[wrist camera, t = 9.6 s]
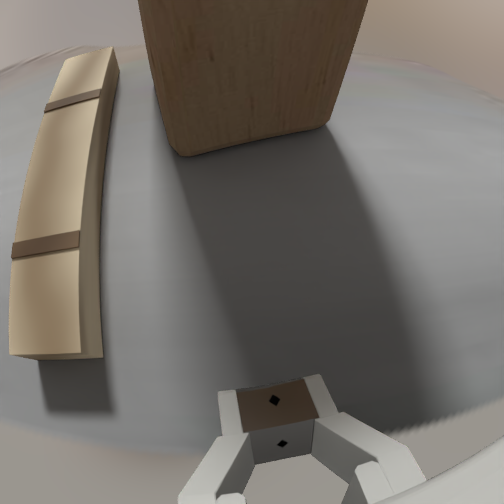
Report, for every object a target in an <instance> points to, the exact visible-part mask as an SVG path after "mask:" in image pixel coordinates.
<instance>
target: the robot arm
mask: <svg viewBox="0 0 504 504" xmlns="http://www.w3.org/2000/svg"><path fill="white" fill-rule="evenodd" d="M236 395H237V396H236ZM237 400H238V401H237ZM218 403H219V412H220V420H221V428H222V436H219V437H217V438H216V440H215V441H214V443H213V444H212V446H211V447H210V449H209V451H208V452H207V454H206V455H205V457H204V458H203V460H202V461H201V463H200V464H199V466H198V467H197V469H196V470H195V472H194V473H193V475H192V477H191V478H190V479H189V481H188V482H187V484H186V485H185V487H184V488H183V490H182V491H181V493H180V494H179V496H178V504H247V503H246V499H245V496H243V495H242V493H243V491H244V489H245V487H246V484H247V482H248V480H249V478H250V476H251V474H252V471H253V469H254V467H255V465H256V464H261V463H266V462H271V461H276V460H280V459H285V458H291V457H296V456H301V455H306V454H310V453H311V455H312V456H313V457H315V458H316V459H317V460H318V461H320V462H321V463H322V464H324V465H325V466H326V467H327V468H329V469H330V470H331V471H333V472H334V473H335V474H336V475H338V476H339V477H341V478H342V479H343V480H345V481H346V482H347V483H348V484H349V487H348V489H347V492H346V494H345V496H344V499H343V501H342V504H504V435H503V436H502V437H500V438H499V439H497V440H496V441H495V442H493V443H492V444H490V445H489V446H487V447H486V448H484V449H482V450H481V451H479V452H478V453H476V454H474V455H473V456H471V457H470V458H468V459H466V460H464V461H463V462H461V463H459V464H457V465H455V466H454V467H452V468H450V469H448V470H446V471H445V472H443V473H441V474H439V475H437V476H435V477H433V478H431V479H429V480H427V479H426V477H425V476H424V474H423V472H422V470H421V469H420V467H419V465H418V463H417V462H416V460H415V459H414V456H413V455H412V453H411V451H410V450H409V448H408V446H406V445H404V444H402V443H400V442H398V441H396V440H394V439H392V438H390V437H389V436H387V435H385V434H383V433H381V432H379V431H377V430H375V429H374V428H372V427H370V426H368V425H366V424H364V423H363V422H361V421H359V420H357V419H355V418H354V417H352V416H350V415H348V414H347V413H345V412H341V413H339V412H338V410H337V408H336V406H335V404H334V402H333V400H332V397H331V395H330V393H329V391H328V389H327V387H326V385H325V383H324V381H323V379H322V376H321V375H320V374H316V375H311V376H307V377H303V378H297V379H292V380H287V381H282V382H277V383H272V384H269V385H263V386H256V387H249V388H241V389H236V391H235V390H227V391H218ZM238 406H239V407H238Z"/></svg>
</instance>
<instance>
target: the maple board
mask: <svg viewBox="0 0 504 504" xmlns="http://www.w3.org/2000/svg"><path fill="white" fill-rule="evenodd" d="M119 71H120V70H119V67H118V63H117V59H116V56H115V52H114V48H113V47H108V48H104V49H100V50H97V51H93V52H89V53H86V54H82V55H79V56H75V57H72V58H69V59H66V60H65V62H64V64H63V67H62V69H61V71H60V74H59V76H58V79H57V81H56V83H55V86H54V89H53V91H52V94H51V96H50V99H49V102H48V103H47V104H46V107H45V110H44V116H43V119H42V122H41V125H40V128H39V132H38V135H37V138H36V142H35V145H34V149H33V152H32V156H31V160H30V164H29V167H28V172H27V176H26V180H25V185H24V189H23V194H22V199H21V204H20V209H19V215H18V221H17V227H16V234H15V241H14V243H13V246H12V255H11V258H12V269H11V281H10V298H9V355H14V356H19V357H24V358H29V359H34V360H63V359H87V358H103V347H102V334H101V317H100V292H99V242H100V216H101V200H102V187H103V175H104V165H105V156H106V148H107V140H108V133H109V126H110V119H111V113H112V107H113V101H114V96H115V90H116V85H117V80H118V75H119Z"/></svg>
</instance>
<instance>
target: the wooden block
mask: <svg viewBox="0 0 504 504" xmlns="http://www.w3.org/2000/svg"><path fill="white" fill-rule="evenodd" d="M367 3H368V0H138V4H139V10H140V15H141V21H142V27H143V32H144V38H145V43H146V49H147V54H148V59H149V64H150V69H151V73H152V78H153V82H154V86H155V90H156V94H157V98H158V102H159V106H160V110H161V114H162V118H163V122H164V126H165V130H166V133H167V137H168V141H169V144H170V145H171V146H172V147H173V148H174V149H175V150H176V151H177V153H178V154H179V155H180V156H194V155H198V154H202V153H206V152H209V151H213V150H217V149H221V148H225V147H230V146H234V145H238V144H242V143H247V142H251V141H256V140H260V139H265V138H270V137H274V136H279V135H284V134H289V133H295V132H300V131H306V130H311V129H317V128H319V127H321V126H323V125H325V124H326V123H327V122H328V121H329V120H330V117H331V114H332V111H333V108H334V105H335V102H336V99H337V96H338V93H339V90H340V87H341V84H342V81H343V78H344V75H345V72H346V69H347V66H348V63H349V60H350V57H351V54H352V50H353V47H354V44H355V41H356V38H357V35H358V32H359V28H360V25H361V22H362V19H363V16H364V12H365V9H366V6H367Z"/></svg>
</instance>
